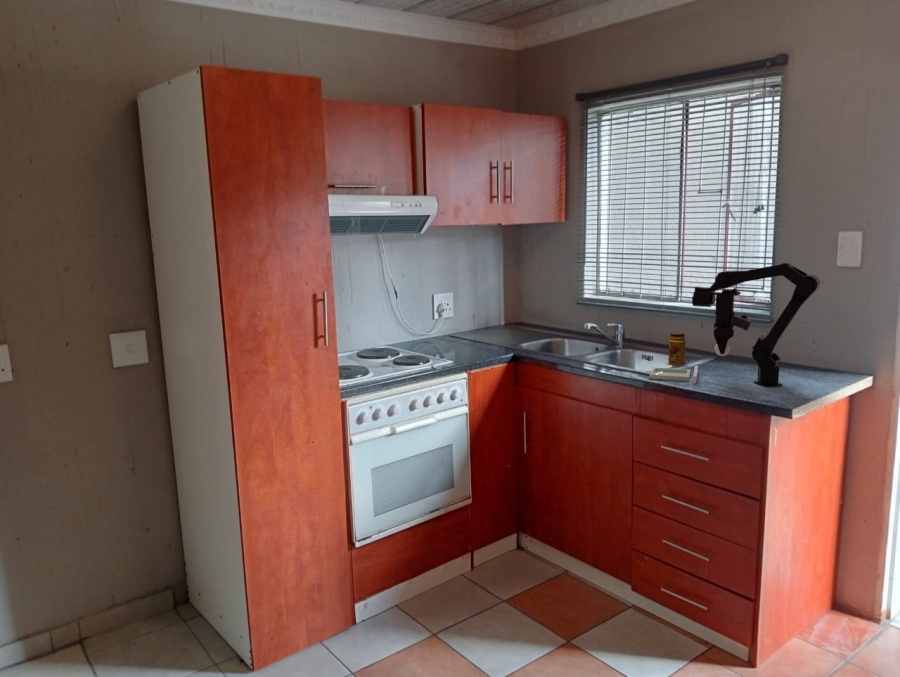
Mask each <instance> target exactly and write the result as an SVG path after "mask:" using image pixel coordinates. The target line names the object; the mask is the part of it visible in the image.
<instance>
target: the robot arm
mask: <svg viewBox="0 0 900 677" xmlns="http://www.w3.org/2000/svg"><path fill="white" fill-rule="evenodd" d="M779 276H782V277H784V278H785V279H787V281H789V282H791V283H792V284H793V285H794V286H795V288H794V290H793V294H792V297H791V299H790V300H789V301H788V303H787V305H786V306H785V307H784V310H783V311H782V312H781V314H780V316H778V318H777V320H776V322H775V323H774V324H773V326H772V327H771V329H770V330H769V332H768V334H767V335H765V336H764V335H761V336H759V337H758V338H757V340H756V342H755V344H754V346H752V347H751V349H752V351H751V355H752V359H753V360H754V361H756V363H757V366H758V369H757V380H753V383H754V384H756V385H760V386H762V387H777V386H778V387H779V386H783V383H781V382H779V379H780V378H779V377H780V367H779V364H780V362H781V361H782V359H781V357H780V356H779V355H778V354H777V353H776V350H777V348H778V345H779V342H780V340H781V338H782V336H783V335H784V333H785V332H786V330H787V328H788V327H789V326H790V324H791V323H792V321H793V320H794V319H795V317H796V315H797V314H798V312H799V311H800V310H801V308H802V306H803V305H804V304H805V303H806V302H807V301H808V300H809V299H810V298H811V297H812V296H813V295H814V294H815V292H817V291H818V289H819V288H820V286H821V280H820V278H819V277H818V276H817V275H816V274H808V273H807V272H805V271H803V270H801V269H800V268H797V267H795V266H794V265H793V264H791V263H790V262H784V263H780V264H775V265H768V266H764V267H758V268H753V269H746V270H745V269H744V270H739V269H738V270H736V269H735V270H734V269H733V270H732V269H731V270H725V271H720V272H718V273H717V274H716V275H715V281H714V282H713V283H712V285H711V286H710V287H703V286H695V287H694V291H693V294H692V296H691V297H692V298H691V299H692V300H691V302H692V303H691V304H692V306H693V307H700V308H701V307H702V308H703V307H705V308H711V307H712V305H715V311H714V313H715V314H714V315H715V316H714V323H713V337H714V340H715V342H716V344H717V345H718V348H719V351H720V353H721V354H724V353H725V349H726V346H727V343H728V341H729V340H730V339H731V338H733V337H734V334H735V329H734V326H735V327H737V328H740V329H742V330H743V331H748V330H749V328H750V326H751V324H752V320H750V319H748V315H747V314H744V313H742V314H741V315H737V314H735V310H734V306H735V296H740V295H741V294H742V292H741V291H740V290H738V289H737V287H735V286H737V285H741V284H742V283H746V282H752V281H757V280H763V279H769V278H774V277H779ZM731 287H733V289H728V288H731ZM719 290H722V292H721V291H719ZM718 291H719V292H718Z"/></svg>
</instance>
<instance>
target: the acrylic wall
mask: <svg viewBox="0 0 900 677" xmlns="http://www.w3.org/2000/svg"><path fill="white" fill-rule="evenodd" d="M698 374H699V366H698V365H695V366H694V370H693V375H692V376H693V377H692V384H697V380H698Z"/></svg>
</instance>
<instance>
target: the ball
mask: <svg viewBox="0 0 900 677" xmlns="http://www.w3.org/2000/svg"><path fill="white" fill-rule="evenodd" d="M714 352H715V353H716V354H717V356H721V357H726V356H727V355H728V354H729V353H730V352H731V346H730V344H729V343H728V342H727V346H726V349H725V353H724V354H721V353H720V351H719V348H718V345H717V343H716V344H715V346H714Z"/></svg>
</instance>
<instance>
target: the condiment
mask: <svg viewBox="0 0 900 677" xmlns="http://www.w3.org/2000/svg"><path fill="white" fill-rule="evenodd" d="M669 335H670V336H669V337H670V338H669V341H668V359H667V360H668V361H667V362H666V366H667V365H669V366H670V365H671V366H686V367H687V365H688V363H689V361H688V360H686V343H687V342H686V340H685V339H686V337H685V335H686V334H685V333H684V332H679V331H678V332H676V331H674V332H671V333H670V334H669Z"/></svg>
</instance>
